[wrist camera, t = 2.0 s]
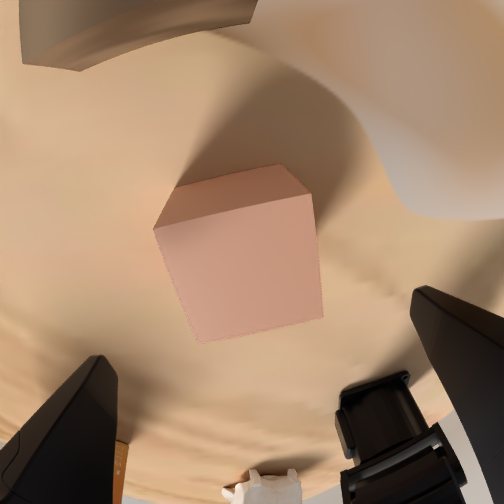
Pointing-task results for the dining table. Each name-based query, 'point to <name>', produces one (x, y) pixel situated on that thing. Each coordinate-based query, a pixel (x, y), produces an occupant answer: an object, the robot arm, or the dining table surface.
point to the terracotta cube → (242, 253)
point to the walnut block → (115, 26)
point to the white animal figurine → (266, 489)
